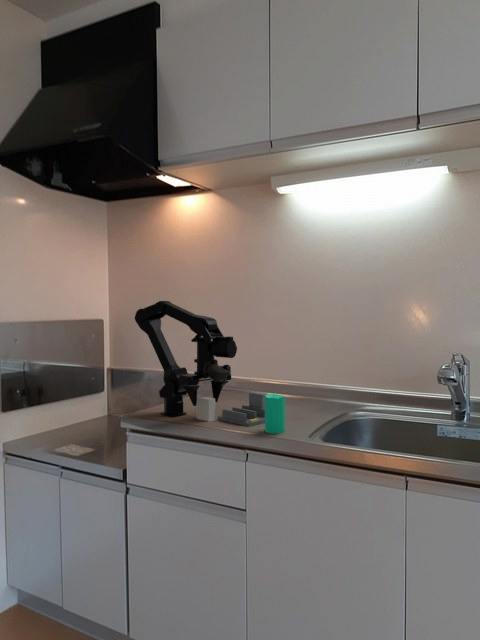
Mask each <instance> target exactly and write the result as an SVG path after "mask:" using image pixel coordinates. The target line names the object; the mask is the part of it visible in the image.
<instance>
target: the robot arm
mask: <svg viewBox="0 0 480 640" xmlns="http://www.w3.org/2000/svg"><path fill="white" fill-rule="evenodd" d="M165 316H168V317H170V318H171V319H174V320H176V321H178V322H180V323H182V324H185V325H186V326H188V328H189V329H190V331H191V332H193V333H194V334H196V335H195V336H194V337H193V338H192V339H191V340H190V341H191V342H192V343H196V358H194V359H193V361H194V362H193V363H196V371H194V372H193V373H194V374H191V373H189V372H188V370H187V368H186V367H180V366H179V365H178V363H177V361H176V359H175V357H174V354H173V353H172V350H171V348H170V346H169V345H168V341H167V340H166V337H165V336H164V333H163V332H162V329H161V328H162V318H164V317H165ZM134 320H135V323H136V324H137V326H138V327H139V328H140V329H141V331H142V332H144V333H145V334H146V335H147V337H148V339H149V342H150V344H151V345H152V348H153V349H154V352H155V354H156V356H157V359H158V361H159V362H160V365H161V367H162V369H163V382H164V385H163V386H162V387H161V388H160V389H159V391H158V394H159V397H160V398H162V399H163V402H164V403H163V405H164V406H163V409H164V410H163V411H162V412H160V415H163V416H167V417H169V418H170V417H171V418H173V417H177V416H183V415H187V412H186V411H184V396H187V395H188V397H189V400H190V401H191V403H192V406H193V407H196V404H197V397H198V389H199V388H200V385H199V383H200V382H204V381H210V384H211V389H212V390H211V391H212V398H215V403H218V401H219V398H220V394H221V392H222V389H223V387H225V385H226V384H229V382H230V381H231V380H232V373H231V371H232V369H231V365H230V364H223V365H219V363H218V359H215V358H223V359H225V358H227V359H233V358H235V357H236V354H237V352H238V346H237V344H236V341H235V340H234V336H225V335H224V334H223V332H222V331H221V330H220V327H219V326H218V322H217V320H216V319H215V318H213V317H209V316H205V315H201V314H195V313H194V312H192V311H189V310H187V309H185V308H184V307H180V306H178V305H176V304H173V303H172V301H169V300H159V301H157V302H155V303H154V304H151V305H149V306H146V307H143V308H139V309H138V310H137V311H136V312H135V315H134Z"/></svg>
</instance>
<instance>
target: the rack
mask: <svg viewBox="0 0 480 640" xmlns="http://www.w3.org/2000/svg"><path fill="white" fill-rule="evenodd" d="M267 394H269V393H267V392H261V391H249V393H248V405H245V404H242V405H241V407H235V406H233V407H232V410H230V409H225V408H224V409H223V408H222V410H221V411H222V413H221V414H222V415H217V420H219V421H223V422H228V423H232V424H237V425H240V426H246V427H253V426H257V425H260V424H261V425H262V424H265V395H267Z"/></svg>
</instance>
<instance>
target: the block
mask: <svg viewBox="0 0 480 640" xmlns="http://www.w3.org/2000/svg"><path fill="white" fill-rule="evenodd" d="M195 407H196V412H195V413H196V417H195V418H196V419H197V420H201V421H206V422H212V421H216V402H215V398H213V397H209V396H205V395H204V396H197V404H196V406H195Z"/></svg>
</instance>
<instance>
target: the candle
mask: <svg viewBox="0 0 480 640" xmlns="http://www.w3.org/2000/svg"><path fill="white" fill-rule="evenodd" d="M285 423H286V396H285V395H282V394H278V393H277V394H276V393H268V394H267V395H265V423H264V432H266V433H268V434H283V433H285V432H286V424H285Z"/></svg>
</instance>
